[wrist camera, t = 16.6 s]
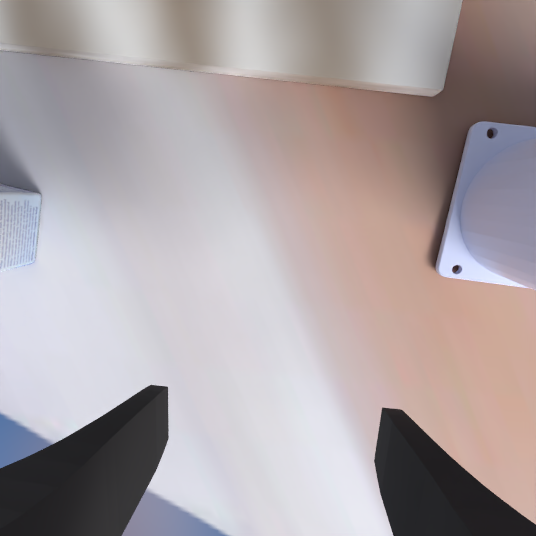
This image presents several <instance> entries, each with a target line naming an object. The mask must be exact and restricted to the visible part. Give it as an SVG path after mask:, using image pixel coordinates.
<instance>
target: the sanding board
mask: <svg viewBox="0 0 536 536" xmlns="http://www.w3.org/2000/svg"><path fill="white" fill-rule="evenodd" d="M462 2H463V0H0V50H2V51H11V52H21V53H30V54H39V55H49V56H58V57H67V58H77V59H86V60H95V61H104V62H114V63H123V64H132V65H142V66H151V67H160V68H169V69H179V70H188V71H197V72H207V73H216V74H225V75H234V76H244V77H253V78H262V79H272V80H281V81H290V82H299V83H309V84H318V85H327V86H337V87H346V88H355V89H364V90H374V91H383V92H392V93H402V94H411V95H420V96H430V97H434V96H435V95H436V94H438V93H439V92H441V91H442V90H443V88H444V83H445V79H446V74H447V70H448V65H449V61H450V56H451V52H452V47H453V42H454V38H455V33H456V29H457V24H458V20H459V15H460V11H461V6H462Z"/></svg>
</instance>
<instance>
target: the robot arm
mask: <svg viewBox="0 0 536 536" xmlns="http://www.w3.org/2000/svg"><path fill="white" fill-rule="evenodd" d="M488 129H491V130H492V131H493V136H492V138H491V139H490V138H488V137H487V131H488ZM455 265H458V266H459V269H458V271H456V272H454V273H453V272H452V268H453V266H455ZM436 271H437V273H438V274H439V275H441V276H444V277H449V278H456V279H464V280H471V281H479V282H486V283H494V284H501V285H509V286H516V287H524V288H531V289H533V290H535V291H536V127H531V126H522V125H513V124H504V123H495V122H486V121H482V122H478V123H476V124H474V125H472V126H471V127H470V129H469V131H468V135H467V139H466V143H465V147H464V151H463V155H462V159H461V163H460V168H459V172H458V176H457V180H456V184H455V188H454V192H453V197H452V201H451V205H450V209H449V213H448V217H447V221H446V225H445V230H444V234H443V238H442V242H441V246H440V250H439V254H438V259H437V263H436ZM167 441H168V387H165V386H155V385H150V386H148V387H146V388H145V389H143V390H142V391H140V392H138V393H137V394H135V395H134V396H132V397H131V398H129V399H128V400H126V401H125V402H123V403H122V404H120V405H119V406H117V407H116V408H114V409H112V410H111V411H109V412H108V413H106V414H105V415H103V416H102V417H100V418H98V419H97V420H95V421H93V422H91V423H90V424H88V425H86V426H85V427H83V428H81V429H80V430H78V431H76V432H75V433H73V434H71V435H69V436H68V437H66V438H64V439H62V440H60V441H58V442H56V443H55V444H53V445H51V446H49V447H47V448H45V449H43V450H41V451H38V452H37V453H35V454H32V455H30V456H28V457H26V458H24V459H21V460H19V461H17V462H14V463H12V464H10V465H7V466H5V467H3V468H0V536H121V535H122V534H123V532H124V530H125V528H126V526H127V524H128V522H129V520H130V519H131V517H132V515H133V513H134V511H135V509H136V507H137V505H138V504H139V501H140V500H141V498H142V496H143V494H144V492H145V490H146V489H147V487H148V485H149V483H150V481H151V479H152V477H153V475H154V473H155V471H156V469H157V467H158V464H159V462H160V459H161V457H162V454H163V452H164V449H165V446H166V444H167ZM374 462H375V467H376V473H377V478H378V483H379V488H380V493H381V497H382V500H383V503H384V506H385V510H386V513H387V516H388V519H389V523H390V526H391V529H392V532H393V535H394V536H536V525H535V524H534V523H533V522H531V521H530V520H528V519H527V518H526V517H524V516H523V515H521V514H520V513H519V512H517V511H516V510H515V509H513V508H512V507H511V506H509V505H508V504H507V503H505V502H504V501H503V500H501V499H500V498H499V497H498V496H496V495H495V494H494V493H492V492H491V491H490V490H489V489H487V488H486V487H485V486H484V485H482V484H481V483H480V482H479V481H478V480H477V479H475V478H474V477H473V476H472V475H471V474H470V473H468V472H467V471H466V470H465V469H464V468H463V467H461V466H460V465H459V464H458V463H457V462H456V461H455V460H454V459H453V458H451V457H450V456H449V455H448V454H447V453H446V452H445V451H444V450H443V449H442V448H441V447H440V446H439V445H438V444H437V443H435V442H434V441H433V440H432V439H431V438H430V437H429V436H428V435H427V434H426V433H425V432H424V431H423V430H422V429H421V428H420V427H419V426H418V425H417V424H416V423H415V422H414V421H413V420H412V419H411V418H410V417H409V416H408V415H407V414H406V413H405V412H403V411H402V410H400V409H390V408H382V413H381V420H380V426H379V433H378V440H377V446H376V453H375V460H374Z"/></svg>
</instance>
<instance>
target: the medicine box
mask: <svg viewBox="0 0 536 536" xmlns="http://www.w3.org/2000/svg"><path fill="white" fill-rule="evenodd" d="M40 211H41V194H39V193H36V192H31V191H27V190H23V189H19V188H15V187H11V186H6V185H2V184H0V272H2V271H5V270H9V269H13V268H17V267H20V266H24V265H28V264H31V263H33V262H34V260H35V258H36V249H37V242H38V232H39V220H40Z"/></svg>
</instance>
